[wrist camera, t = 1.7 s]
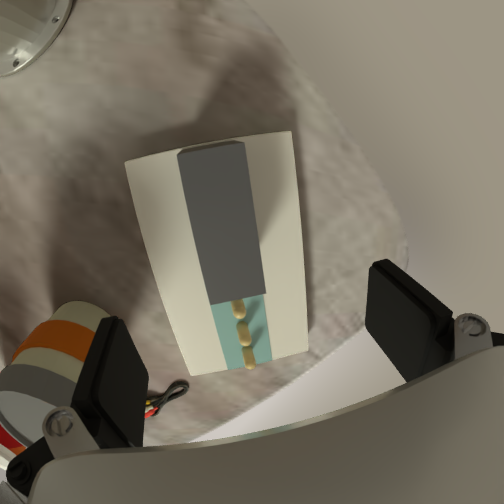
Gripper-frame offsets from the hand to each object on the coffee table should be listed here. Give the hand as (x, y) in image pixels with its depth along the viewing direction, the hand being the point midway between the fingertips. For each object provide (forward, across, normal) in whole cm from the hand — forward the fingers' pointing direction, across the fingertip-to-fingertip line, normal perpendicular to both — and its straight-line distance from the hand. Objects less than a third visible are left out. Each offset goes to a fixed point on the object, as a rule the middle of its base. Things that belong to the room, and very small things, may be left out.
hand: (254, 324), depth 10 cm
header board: (+18, 0, +6) cm, 19 cm away
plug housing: (+16, 0, 0) cm, 16 cm away
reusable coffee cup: (+18, +18, +11) cm, 28 cm away
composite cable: (+19, +13, +24) cm, 33 cm away
